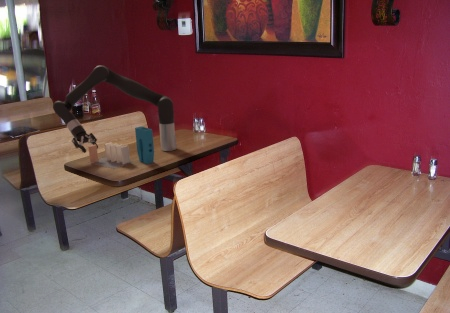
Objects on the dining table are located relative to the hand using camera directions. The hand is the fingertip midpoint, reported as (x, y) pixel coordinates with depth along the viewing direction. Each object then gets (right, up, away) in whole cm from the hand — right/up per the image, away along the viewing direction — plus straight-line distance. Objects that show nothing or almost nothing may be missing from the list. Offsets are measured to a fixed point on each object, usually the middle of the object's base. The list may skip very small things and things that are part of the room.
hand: (91, 150), depth 269 cm
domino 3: (+17, -7, 0) cm, 18 cm away
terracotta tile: (+1, -7, +1) cm, 7 cm away
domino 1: (+10, -6, +5) cm, 12 cm away
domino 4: (+21, -7, -2) cm, 22 cm away
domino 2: (+13, -6, +3) cm, 15 cm away
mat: (+11, -7, 0) cm, 13 cm away
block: (+32, -7, -1) cm, 33 cm away
